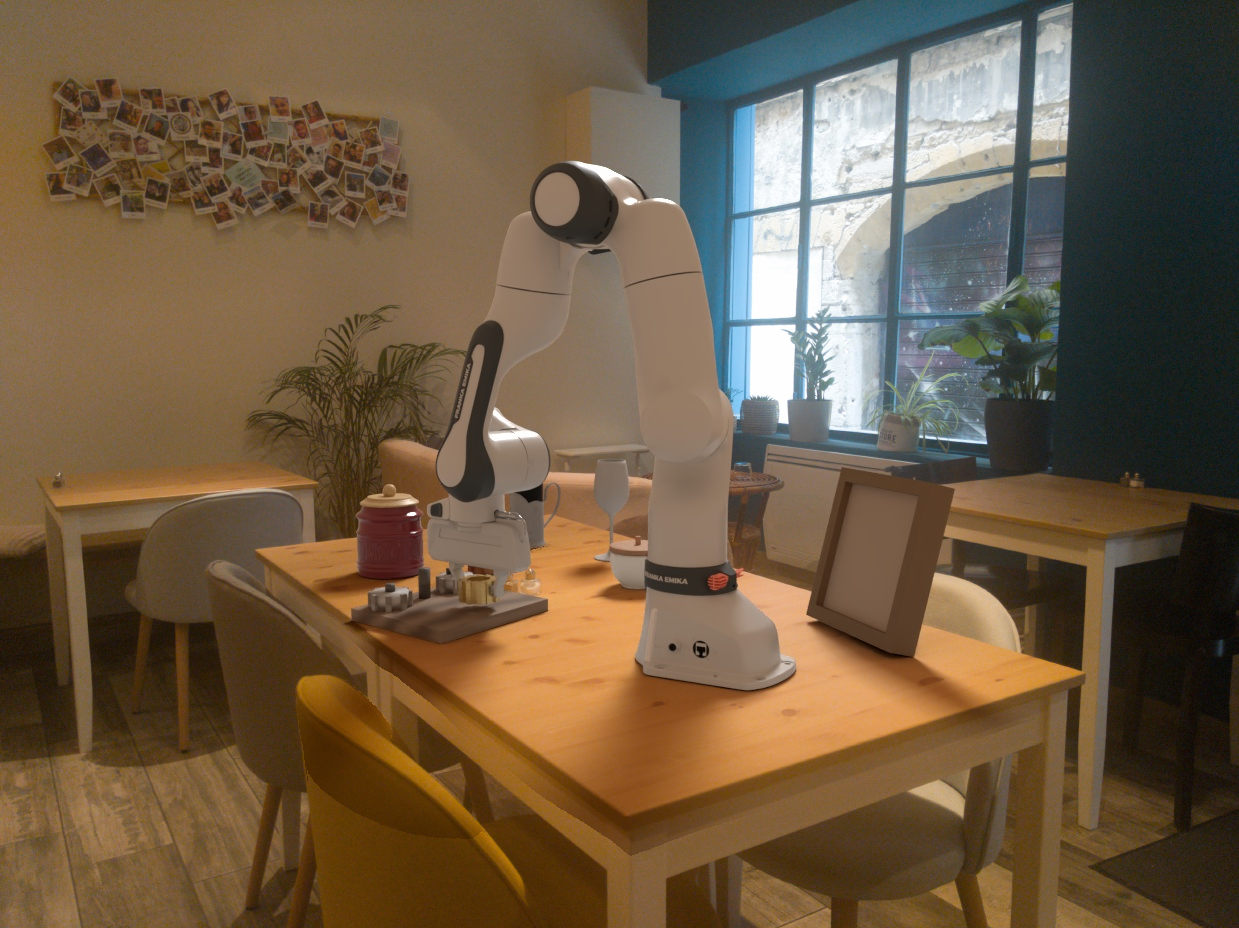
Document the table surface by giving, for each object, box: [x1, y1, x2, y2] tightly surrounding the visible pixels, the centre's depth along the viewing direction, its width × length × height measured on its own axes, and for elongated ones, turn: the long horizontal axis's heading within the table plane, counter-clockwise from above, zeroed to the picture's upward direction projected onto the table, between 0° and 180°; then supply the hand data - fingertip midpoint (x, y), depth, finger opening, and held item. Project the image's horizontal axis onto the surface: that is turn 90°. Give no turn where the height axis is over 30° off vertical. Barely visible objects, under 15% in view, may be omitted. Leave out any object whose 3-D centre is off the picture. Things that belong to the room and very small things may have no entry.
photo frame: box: [805, 466, 956, 658], centre depth 145 cm, size 15×22×25 cm
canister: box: [355, 483, 425, 580], centre depth 186 cm, size 13×13×18 cm
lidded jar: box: [608, 535, 648, 590], centre depth 177 cm, size 11×11×9 cm
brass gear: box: [458, 574, 500, 605], centre depth 152 cm, size 6×6×4 cm
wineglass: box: [593, 458, 630, 563], centre depth 201 cm, size 8×8×21 cm
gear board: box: [350, 566, 549, 644], centre depth 155 cm, size 21×24×7 cm
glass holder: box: [508, 481, 562, 549], centre depth 218 cm, size 9×14×15 cm, turn 133°
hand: (479, 593), depth 152 cm, fingers closed on brass gear, 6 cm apart
